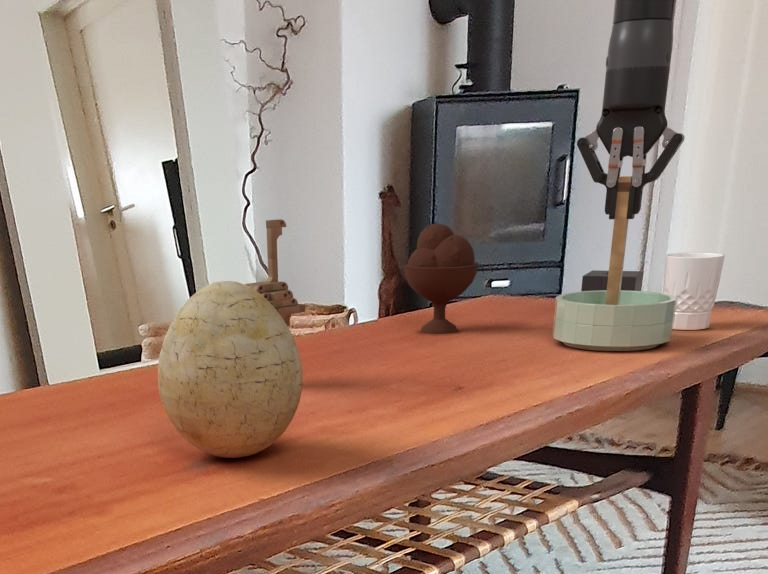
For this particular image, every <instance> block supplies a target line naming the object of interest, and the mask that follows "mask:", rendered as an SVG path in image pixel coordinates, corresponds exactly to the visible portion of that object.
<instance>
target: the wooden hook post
mask: <svg viewBox="0 0 768 574" xmlns="http://www.w3.org/2000/svg"><path fill="white" fill-rule="evenodd" d="M286 227H287V222H286V221H285V220H284V219H282V218H281V219H279V218H277V219H266V220H265V228H266V250H267V279H266V280H264V281H263V280H262V281H257V282H249V283H245V284H244V285H247V286H249V287H251V288H252V289H254V290H255V291H257V292H258V293H260V294H261V295H262V296H263V297H264V298H265V299H267V300H268V301H269V302H270V303H271V304H272V305H273V307H274V308H275V309H276V310H277V312H278V313H279V314H280V315H281V317H282V318H283V320H284V321H285V323H286V325H287V326H288V327H290V326H291V318H292V315H295V314H301V313H305V312H306V304H304V303H299V302H298V299H296V298H295V297H294V293H293V292H292V290H290V289H289V285H288V283H286V281H279V264H278V239H279V237H280V236H282V235H283V228H286Z"/></svg>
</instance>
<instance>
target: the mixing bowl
mask: <svg viewBox="0 0 768 574" xmlns="http://www.w3.org/2000/svg"><path fill="white" fill-rule="evenodd" d="M606 292H607V290H597V291H581V290H580V291H573V292H572V291H571V292H566V293H565V292H564V293H561V294H559V295H557V296H555V300H554V312H553V322H552V323H553V324H552V332H551V336H552V338H553V339H554V340H556V341H559V342H561V343H562V344H563V345H565V346H567V347H570V348H574V349H579V350H587V351H596V352H597V351H600V352H634V351H645V350H651V349H654V348H657V347H659V345H661V344H664V343H667V342H670V341H671V340H672V338H673V334H674V333H673V332H674V329H673V327H674V320H675V313H676V306H677V299H678V298H677V297H675V296H673V295H669V294H664V293H663V292H655V291H647V290H646V291H645V290H641V291H628V290H621V292H620V301H619V305H611V304H605V302H606Z"/></svg>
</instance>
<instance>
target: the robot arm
mask: <svg viewBox="0 0 768 574" xmlns="http://www.w3.org/2000/svg"><path fill="white" fill-rule="evenodd" d="M676 4H677V0H614V6H613V16H612V18H613V19H612V27H611V33H610V38H609V42H608V47H607V56H606V59H605V75H604V77H605V78H604V86H603V87H604V89H603V96H602V97H603V98H602V109H601V115H600V118H599V119H598V122H597V124H596V127H595V130H593V131H592V132H590V133H588V134H587V135H586V136H583V137H580V138H579V139H578V140H577V141H576V146H577V148H578V151H579V152H580V155H581V157H582V159H583V161H584V163H585V165H586V168H587V169H588V172H589V175H590V177H591V178H592V181H593V182H594V183H596V184H601V185H603V186H604V187H605V188H606V193H605V204H604V214H605V215H608V219H609V220H614V218H615V209H616V200H617V190H618V188H617V187H618V179H619V177H621V171H622V168H623V163H624V158H626V157H630V158H632V162H631V163H632V164H631V166H632V174H631V176H632V188H630V191H629V200H628V209H627V219H629V220H634V219H635V217H636V216H635V215H638V214H639V213H640V211H641V209H642V200H643V193H644V192H643V191H644V187H645V186H646V185H647V184H649V183H652V182H655V181H657V180H658V179H659V178H660V177H661V175H662V174H663V172H665V170H666V168H667V166H668V165H669V163H670V162H671V161H672V159H673V158H674V156H675V155H676V153H677V151H678V150H679V148H680V147H681V145H683V143H684V141H685V134H683V133H682V132H681V133H680V132H677V131H675V130H674V129H672V128H671V127H669V126H668V119H667V116H666V105H667V104H666V102H667V95H668V88H669V79H670V71H671V62H672V55H673V47H674V46H673V45H674V19H675V12H676ZM661 137H663V141H662V142H661V147H662V148H663V151H662V152H661V154H660V155H659V157H658V158H657V159H656V161H655V162H654V164H653V165H652V167H651V168H650V169H649V171H648V172H646V166H647V158H648V154H649V153H650V151H651V150H652V149H653V147H654V146H655V145H656V143H657V142H658V141H659V140H660V139H661ZM599 139H600V142H601V143H602V145H603V147H604V148H605V150H606V151H607V153H608V155H609V158H608V166H607V168H608V170H607V173H606V172H605V171H604V168H603V166H602V164H601V161H600V160H599V158H598V155H597V153H596V151H597V149H598V147H599V143H598V141H599Z"/></svg>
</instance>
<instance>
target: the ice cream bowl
mask: <svg viewBox="0 0 768 574" xmlns="http://www.w3.org/2000/svg"><path fill="white" fill-rule="evenodd" d="M479 266H480V263H479V262H476V259H475V251H474V248H473V246H472V244H471V242H469V240H468V239H467V238H466V237H463V236H462V235H459V234H454V231H453V230H452V229H451V228H450V227H449V226H448V225H446V224H444V223H439V222H438V223H432V224H429V225H427V226H425V228H423V230H422V231H421V232H420V233H419V235H418V238H417V242H416V249H415V250H414V251H413V252H412V253H411V255H410V256H409V258H408V260H407V263H406V264H405V265H403V269H404V270H403V271H404V275H405V279H406V281H407V283H408V286H410V288H411V289H412V290H413V291H414V293H416V294H417V295H418V296H420V297H421V298H422V299H424V300H426V301H429V302H431V304H432V306H433V319H431V320H430V321H428V322H427V323H425V324H424V325H423V326H422V327H421V328H420V332H422V333H426V334H450V333H455V332H457V331H458V329H457V326H456V324H454V323H453V322H451V321H450V320H448V319H447V318H446V308H447V305H448V303H449V302H451V301H453V300H455V299H457V298H458V297H459V296H461V295H463V293H464V292H466V290H467V289H468V288H469V287H470V286H471V285H472V283H473V282H474V280H475V278H476V276H477V273H478V269H479Z"/></svg>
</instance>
